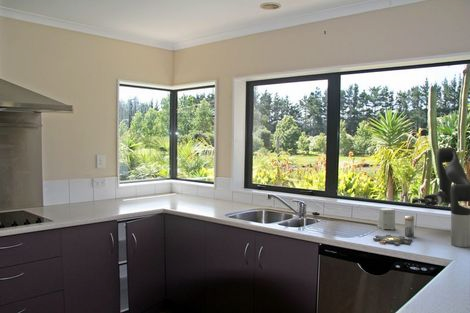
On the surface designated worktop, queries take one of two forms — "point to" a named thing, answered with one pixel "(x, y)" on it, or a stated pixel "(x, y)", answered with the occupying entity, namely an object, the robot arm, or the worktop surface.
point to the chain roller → (409, 226)
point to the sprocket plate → (393, 240)
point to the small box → (387, 218)
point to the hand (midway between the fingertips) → (419, 202)
